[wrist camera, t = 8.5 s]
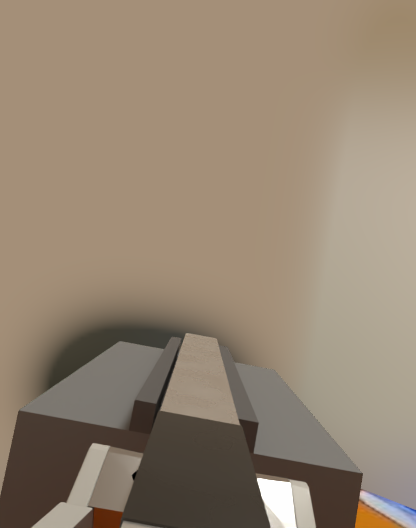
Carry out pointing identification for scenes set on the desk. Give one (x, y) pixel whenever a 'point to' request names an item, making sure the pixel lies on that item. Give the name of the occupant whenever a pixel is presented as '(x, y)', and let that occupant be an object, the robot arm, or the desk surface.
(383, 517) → the desk surface
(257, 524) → the bar
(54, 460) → the grey grooved block
